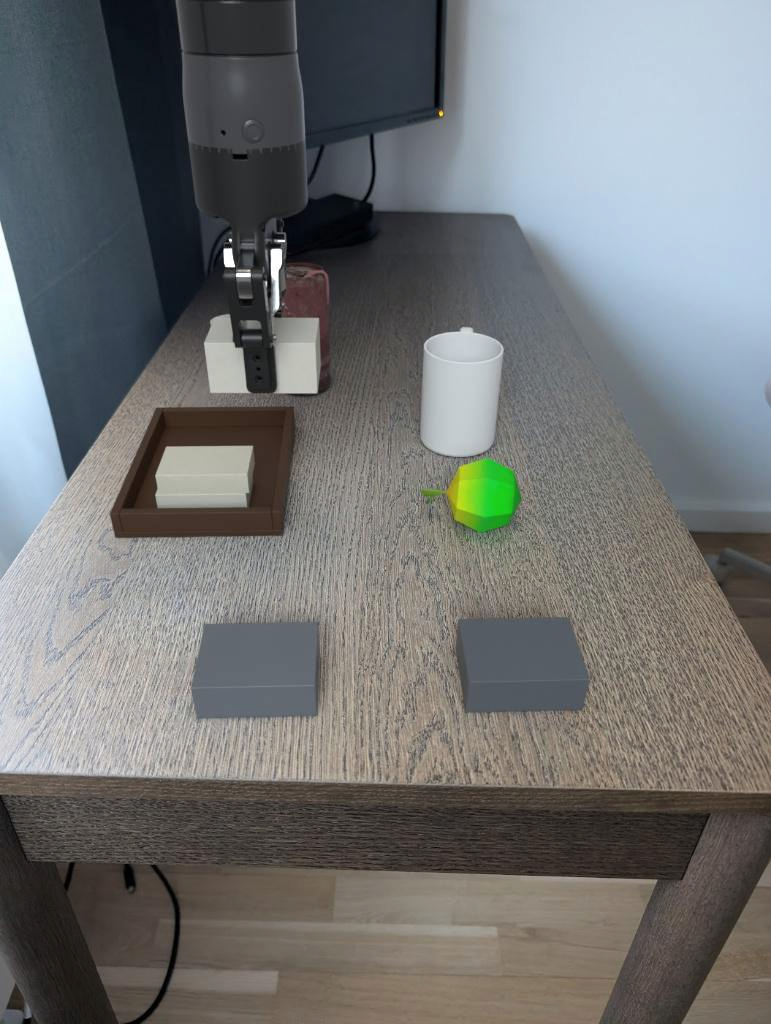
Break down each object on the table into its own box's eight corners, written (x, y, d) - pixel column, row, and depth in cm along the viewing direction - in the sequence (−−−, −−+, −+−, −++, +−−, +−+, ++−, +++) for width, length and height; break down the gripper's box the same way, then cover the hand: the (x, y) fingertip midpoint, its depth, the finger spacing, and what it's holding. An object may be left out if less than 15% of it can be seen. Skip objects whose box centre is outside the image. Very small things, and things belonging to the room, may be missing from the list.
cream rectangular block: (210, 393, 58) (203, 342, 55) (220, 365, 62) (214, 317, 59) (317, 393, 58) (315, 343, 56) (320, 365, 62) (319, 317, 60)
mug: (493, 461, 79) (503, 365, 73) (416, 455, 80) (419, 360, 74) (495, 406, 89) (505, 318, 83) (427, 401, 89) (431, 314, 83)
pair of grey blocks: (196, 718, 51) (190, 688, 50) (209, 653, 56) (204, 623, 55) (582, 710, 52) (590, 679, 51) (562, 646, 57) (568, 616, 56)
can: (331, 397, 90) (327, 278, 82) (276, 397, 90) (267, 277, 82) (333, 375, 95) (330, 260, 87) (281, 374, 95) (273, 260, 87)
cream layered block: (158, 513, 70) (151, 476, 67) (169, 482, 74) (162, 446, 71) (251, 512, 70) (247, 474, 68) (256, 481, 74) (253, 445, 72)
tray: (115, 538, 68) (109, 513, 66) (159, 428, 84) (156, 407, 82) (282, 535, 68) (280, 511, 67) (295, 427, 84) (294, 406, 83)
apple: (528, 451, 66) (423, 445, 66) (526, 524, 64) (418, 517, 65) (517, 475, 73) (421, 470, 73) (515, 541, 71) (417, 535, 72)
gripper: (207, 114, 56) (231, 338, 65) (164, 153, 44) (201, 419, 54) (311, 116, 56) (320, 338, 66) (296, 155, 44) (309, 419, 54)
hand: (266, 373), depth 60 cm, fingers closed on cream rectangular block, 5 cm apart
